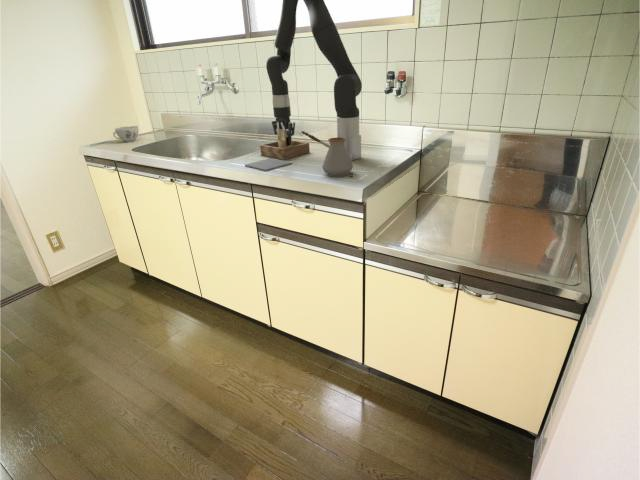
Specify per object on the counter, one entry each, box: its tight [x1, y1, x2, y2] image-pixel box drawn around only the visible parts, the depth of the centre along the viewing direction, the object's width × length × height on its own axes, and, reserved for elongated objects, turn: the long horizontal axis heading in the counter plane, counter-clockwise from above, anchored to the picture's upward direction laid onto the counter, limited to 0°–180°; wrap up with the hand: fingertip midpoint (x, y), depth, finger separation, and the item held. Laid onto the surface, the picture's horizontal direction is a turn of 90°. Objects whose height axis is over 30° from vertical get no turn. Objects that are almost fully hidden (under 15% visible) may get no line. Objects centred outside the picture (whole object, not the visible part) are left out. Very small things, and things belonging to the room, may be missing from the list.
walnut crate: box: [259, 139, 310, 161], centre depth 175 cm, size 16×16×4 cm
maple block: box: [276, 129, 293, 148], centre depth 173 cm, size 4×4×8 cm
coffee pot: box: [299, 130, 354, 178], centre depth 141 cm, size 21×12×15 cm, turn 59°
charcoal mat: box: [244, 157, 293, 172], centre depth 158 cm, size 14×14×1 cm
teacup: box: [112, 125, 139, 143], centre depth 222 cm, size 15×12×8 cm
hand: (285, 144), depth 174 cm, fingers closed on maple block, 4 cm apart
